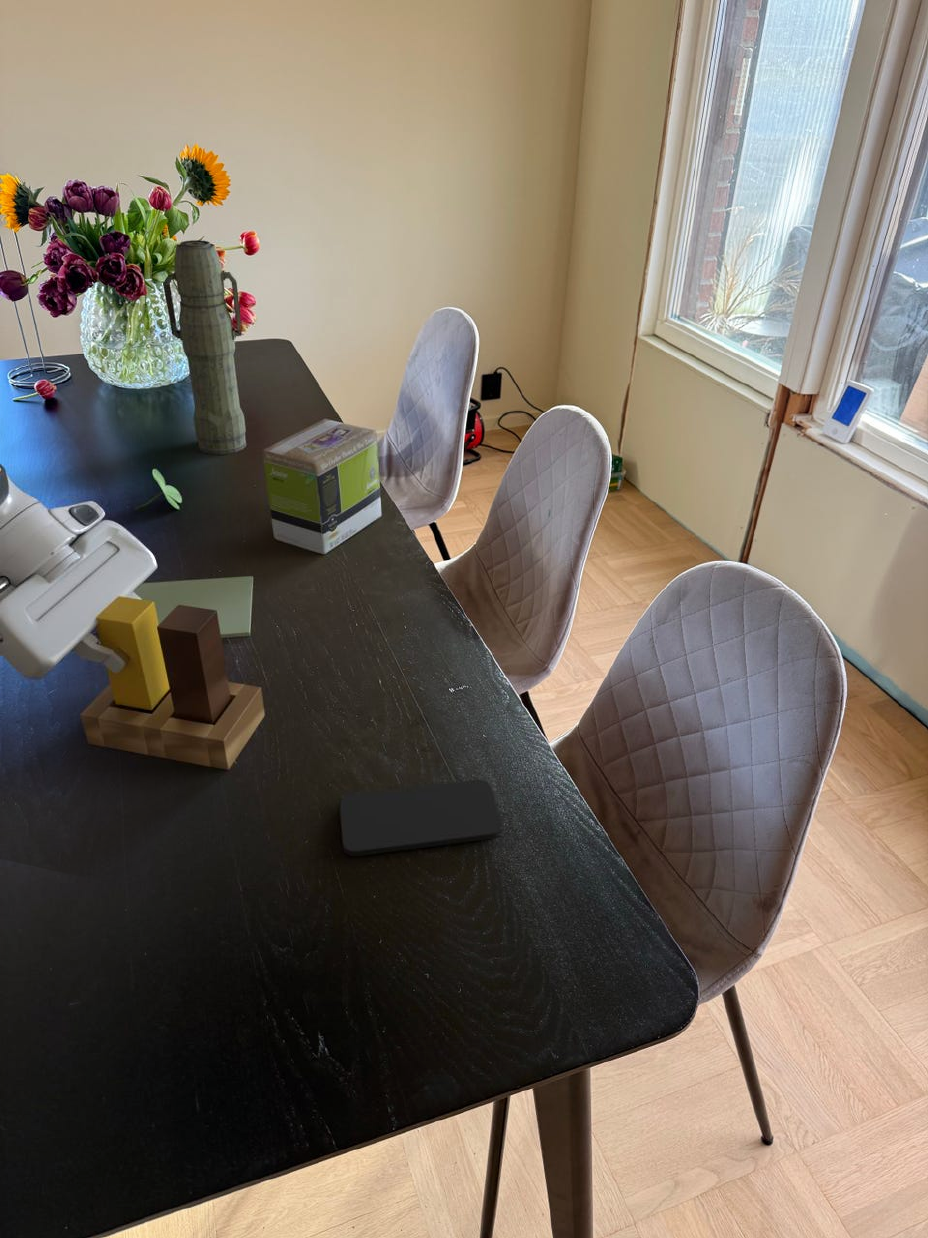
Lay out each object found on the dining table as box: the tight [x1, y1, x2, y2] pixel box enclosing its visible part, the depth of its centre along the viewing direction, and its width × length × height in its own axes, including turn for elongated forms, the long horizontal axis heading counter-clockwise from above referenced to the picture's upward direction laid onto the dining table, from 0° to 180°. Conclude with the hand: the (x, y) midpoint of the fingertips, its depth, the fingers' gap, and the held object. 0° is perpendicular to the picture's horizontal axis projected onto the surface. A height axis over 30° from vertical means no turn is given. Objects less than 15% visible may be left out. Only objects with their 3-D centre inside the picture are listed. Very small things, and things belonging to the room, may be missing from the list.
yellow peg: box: [95, 596, 170, 711], centre depth 88 cm, size 4×4×11 cm
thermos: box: [162, 239, 247, 456], centre depth 149 cm, size 9×12×35 cm
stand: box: [79, 681, 266, 771], centre depth 91 cm, size 16×9×4 cm, turn 77°
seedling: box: [134, 468, 183, 511], centre depth 136 cm, size 7×8×7 cm
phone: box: [339, 779, 503, 857], centre depth 82 cm, size 7×1×15 cm
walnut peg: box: [157, 605, 231, 725], centre depth 88 cm, size 4×4×15 cm
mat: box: [98, 575, 254, 645], centre depth 112 cm, size 18×14×1 cm
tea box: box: [262, 418, 382, 555], centre depth 128 cm, size 15×10×15 cm, turn 150°
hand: (139, 650), depth 88 cm, fingers closed on yellow peg, 4 cm apart
